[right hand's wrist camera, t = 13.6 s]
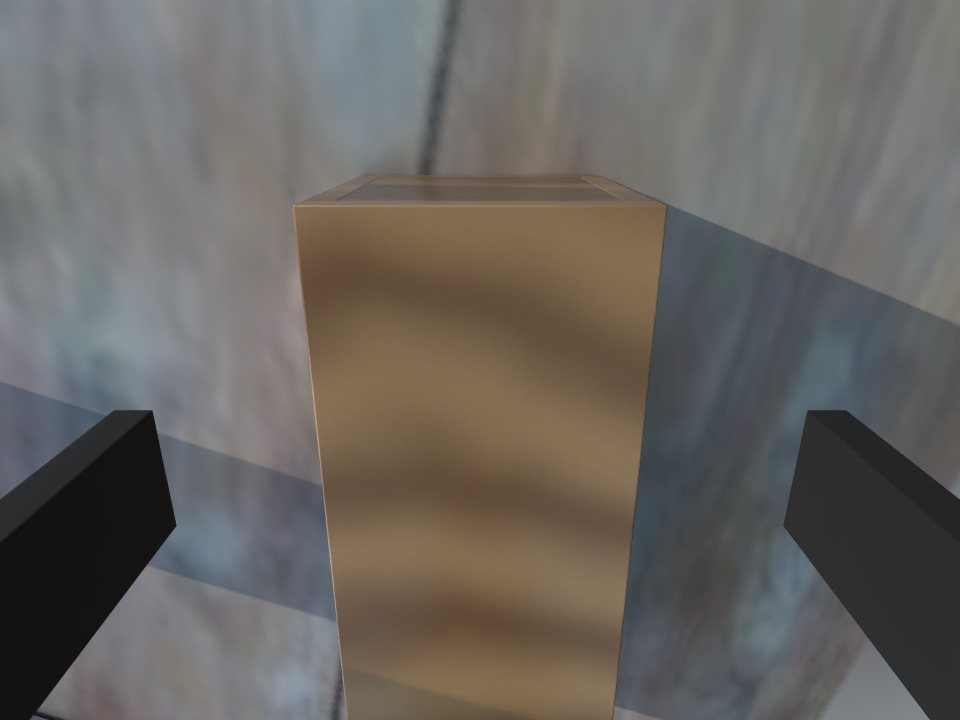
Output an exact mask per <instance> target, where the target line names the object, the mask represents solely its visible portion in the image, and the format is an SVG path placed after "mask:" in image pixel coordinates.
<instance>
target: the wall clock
mask: <svg viewBox="0 0 960 720" xmlns="http://www.w3.org/2000/svg"><path fill="white" fill-rule="evenodd" d="M30 720H48V719H45V718H41V717H38V716H35V715H33V716H32V718H31V719H30Z"/></svg>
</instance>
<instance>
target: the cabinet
mask: <svg viewBox="0 0 960 720" xmlns="http://www.w3.org/2000/svg"><path fill="white" fill-rule="evenodd" d="M293 214H294V223H295V233H296V242H297V252H298V261H299V271H300V280H301V289H302V299H303V308H304V318H305V327H306V337H307V346H308V355H309V365H310V374H311V384H312V393H313V403H314V412H315V422H316V431H317V440H318V450H319V459H320V469H321V478H322V488H323V497H324V506H325V516H326V525H327V535H328V544H329V554H330V563H331V572H332V582H333V591H334V601H335V610H336V620H337V629H338V639H339V648H340V657H341V667H342V676H343V686H344V695H345V705H346V714H347V720H613V715H614V706H615V696H616V687H617V677H618V668H619V659H620V649H621V640H622V630H623V621H624V611H625V602H626V593H627V583H628V574H629V564H630V555H631V546H632V536H633V527H634V517H635V508H636V499H637V489H638V480H639V470H640V461H641V451H642V442H643V433H644V423H645V414H646V404H647V395H648V386H649V376H650V367H651V357H652V348H653V339H654V329H655V320H656V310H657V301H658V291H659V282H660V273H661V263H662V254H663V244H664V235H665V226H666V216H667V205H664V204H662V203H660V202H658V201H655V200H653V199H651V198H648V197H646V196H644V195H642V194H639V193H637V192H635V191H633V190H630V189H628V188H626V187H624V186H621V185H619V184H617V183H615V182H612V181H610V180H608V179H606V178H603V177H601V176H599V175H361V176H359V177H357V178H355V179H353V180H350V181H348V182H346V183H344V184H341V185H339V186H337V187H335V188H332V189H330V190H328V191H326V192H323V193H321V194H319V195H317V196H314V197H312V198H310V199H308V200H305V201H303V202H300V203H298V204H296V205H293Z"/></svg>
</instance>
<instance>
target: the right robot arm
mask: <svg viewBox="0 0 960 720" xmlns="http://www.w3.org/2000/svg"><path fill="white" fill-rule="evenodd" d="M175 527H176V521H175V516H174V512H173V507H172V502H171V497H170V492H169V488H168V483H167V478H166V473H165V469H164V464H163V459H162V454H161V449H160V445H159V440H158V435H157V430H156V425H155V421H154V416H153V411H152V410H114V411H113V412H111V413H110V414H109V415H108V416H106V417H105V418H104V419H102V420H101V421H100V422H99V423H97V424H96V425H95V426H94V427H92V428H91V429H90V430H88V431H87V432H86V433H85V434H83V435H82V436H81V437H79V438H78V439H77V440H76V441H74V442H73V443H72V444H71V445H69V446H68V447H67V448H65V449H64V450H63V451H62V452H60V453H59V454H58V455H56V456H55V457H54V458H53V459H51V460H50V461H49V462H48V463H46V464H45V465H44V466H42V467H41V468H40V469H39V470H37V471H36V472H35V473H34V474H32V475H31V476H30V477H28V478H27V479H26V480H25V481H23V482H22V483H21V484H19V485H18V486H17V487H16V488H14V489H13V490H12V491H11V492H9V493H8V494H7V495H5V496H4V497H3V498H2V499H0V720H30V719H31V718H32V716H33V715H34V714H35V712H36V711H37V710H38V708H39V707H40V706H41V705H42V703H43V702H44V701H45V699H46V698H47V697H48V695H49V694H50V693H51V691H52V690H53V689H54V687H55V686H56V685H57V683H58V682H59V681H60V679H61V678H62V677H63V675H64V674H65V673H66V671H67V670H68V669H69V667H70V666H71V665H72V663H73V662H74V661H75V659H76V658H77V657H78V656H79V654H80V653H81V652H82V650H83V649H84V648H85V646H86V645H87V644H88V642H89V641H90V640H91V638H92V637H93V636H94V634H95V633H96V632H97V630H98V629H99V628H100V626H101V625H102V624H103V622H104V621H105V620H106V618H107V617H108V616H109V614H110V613H111V612H112V610H113V609H114V608H115V607H116V605H117V604H118V603H119V601H120V600H121V599H122V597H123V596H124V595H125V593H126V592H127V591H128V589H129V588H130V587H131V585H132V584H133V583H134V581H135V580H136V579H137V577H138V576H139V575H140V573H141V572H142V571H143V569H144V568H145V567H146V565H147V564H148V563H149V562H150V560H151V559H152V558H153V556H154V555H155V554H156V552H157V551H158V550H159V548H160V547H161V546H162V544H163V543H164V542H165V540H166V539H167V538H168V536H169V535H170V534H171V532H172V531H173V530H174V528H175ZM784 527H785V528H786V530H787V531H788V532H789V534H790V535H791V536H792V538H793V539H794V540H795V542H796V543H797V544H798V546H799V547H800V548H801V550H802V551H803V552H804V554H805V555H806V556H807V558H808V559H809V560H810V562H811V563H812V564H813V565H814V567H815V568H816V569H817V571H818V572H819V573H820V575H821V576H822V577H823V579H824V580H825V581H826V583H827V584H828V585H829V587H830V588H831V589H832V591H833V592H834V593H835V595H836V596H837V597H838V599H839V600H840V601H841V603H842V604H843V605H844V607H845V608H846V609H847V610H848V612H849V613H850V614H851V616H852V617H853V618H854V620H855V621H856V622H857V624H858V625H859V626H860V628H861V629H862V630H863V632H864V633H865V634H866V636H867V637H868V638H869V640H870V641H871V642H872V644H873V645H874V646H875V648H876V649H877V650H878V652H879V653H880V654H881V655H882V657H883V658H884V659H885V661H886V662H887V663H888V665H889V666H890V667H891V669H892V670H893V671H894V673H895V674H896V675H897V677H898V678H899V679H900V681H901V682H902V683H903V685H904V686H905V687H906V689H907V690H908V691H909V693H910V694H911V695H912V697H913V698H914V699H915V701H916V702H917V703H918V705H919V706H920V707H921V708H922V710H923V711H924V712H925V714H926V715H927V716H928V718H929V719H930V720H960V499H958V498H957V497H956V496H955V495H953V494H952V493H951V492H949V491H948V490H947V489H946V488H944V487H943V486H942V485H941V484H939V483H938V482H937V481H935V480H934V479H933V478H932V477H930V476H929V475H928V474H926V473H925V472H924V471H923V470H921V469H920V468H919V467H918V466H916V465H915V464H914V463H912V462H911V461H910V460H909V459H907V458H906V457H905V456H904V455H902V454H901V453H900V452H898V451H897V450H896V449H895V448H893V447H892V446H891V445H889V444H888V443H887V442H886V441H884V440H883V439H882V438H881V437H879V436H878V435H877V434H875V433H874V432H873V431H872V430H870V429H869V428H868V427H866V426H865V425H864V424H863V423H861V422H860V421H859V420H858V419H856V418H855V417H854V416H852V415H851V414H850V413H849V412H847V411H846V410H808V411H807V416H806V421H805V425H804V430H803V435H802V440H801V445H800V449H799V454H798V459H797V464H796V468H795V473H794V478H793V483H792V488H791V492H790V497H789V502H788V507H787V512H786V516H785V521H784Z"/></svg>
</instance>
